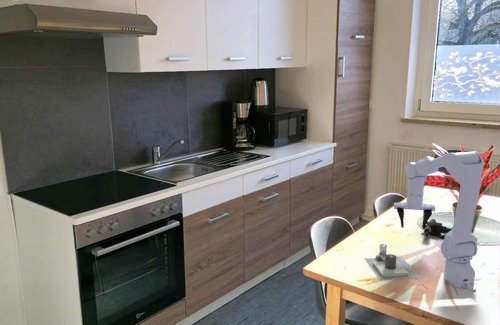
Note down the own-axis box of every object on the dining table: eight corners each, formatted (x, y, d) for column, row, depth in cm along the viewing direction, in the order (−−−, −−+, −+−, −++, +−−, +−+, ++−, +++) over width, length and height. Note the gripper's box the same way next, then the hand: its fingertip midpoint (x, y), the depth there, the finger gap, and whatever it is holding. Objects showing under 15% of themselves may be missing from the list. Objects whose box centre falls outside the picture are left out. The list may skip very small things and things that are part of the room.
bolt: (390, 261, 156) (390, 249, 154) (383, 261, 155) (384, 250, 154) (384, 254, 161) (385, 243, 160) (377, 255, 161) (378, 243, 160)
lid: (408, 275, 148) (409, 261, 147) (382, 276, 148) (382, 262, 147) (397, 263, 157) (398, 250, 156) (373, 264, 156) (373, 251, 155)
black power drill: (463, 220, 189) (426, 215, 196) (459, 231, 172) (418, 225, 180) (462, 232, 190) (425, 226, 197) (457, 244, 173) (417, 237, 181)
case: (420, 281, 147) (421, 274, 146) (379, 283, 146) (379, 276, 145) (401, 260, 162) (401, 254, 162) (364, 262, 162) (364, 255, 161)
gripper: (434, 191, 166) (431, 225, 170) (394, 189, 170) (392, 222, 173) (437, 196, 160) (434, 231, 163) (395, 194, 163) (393, 228, 166)
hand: (412, 227), depth 168 cm, fingers open, 7 cm apart
